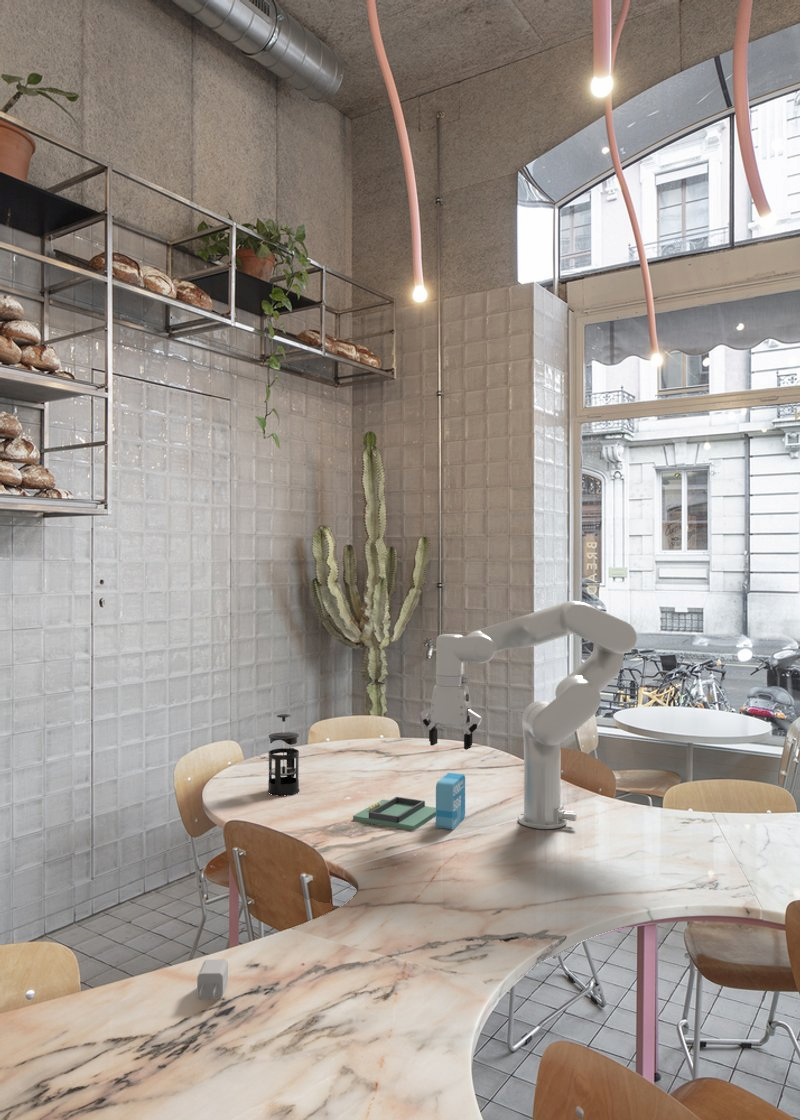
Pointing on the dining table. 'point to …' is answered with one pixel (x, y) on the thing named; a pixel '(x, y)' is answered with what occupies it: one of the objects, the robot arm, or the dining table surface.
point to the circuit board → (397, 813)
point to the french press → (279, 783)
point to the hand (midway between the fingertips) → (450, 746)
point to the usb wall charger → (212, 979)
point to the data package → (450, 801)
